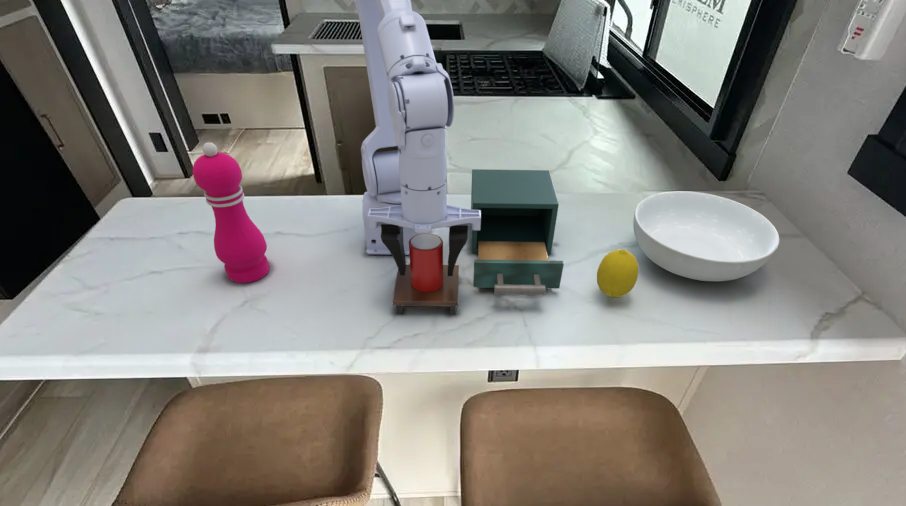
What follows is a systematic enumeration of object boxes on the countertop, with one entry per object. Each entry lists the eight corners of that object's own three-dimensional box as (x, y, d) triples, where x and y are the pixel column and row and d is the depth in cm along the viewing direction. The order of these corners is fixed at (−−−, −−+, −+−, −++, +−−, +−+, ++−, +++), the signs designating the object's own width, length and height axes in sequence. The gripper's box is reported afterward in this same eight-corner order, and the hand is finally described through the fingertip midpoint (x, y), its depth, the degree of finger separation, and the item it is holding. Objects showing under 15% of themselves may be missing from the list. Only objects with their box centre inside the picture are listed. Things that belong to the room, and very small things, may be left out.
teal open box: (471, 253, 83) (472, 203, 77) (470, 217, 92) (472, 169, 86) (550, 254, 83) (558, 204, 77) (542, 218, 92) (549, 170, 86)
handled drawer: (473, 304, 72) (474, 278, 69) (472, 244, 83) (473, 220, 81) (563, 305, 72) (568, 280, 69) (549, 245, 83) (553, 221, 80)
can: (409, 291, 71) (407, 250, 67) (412, 272, 75) (410, 232, 70) (442, 292, 71) (442, 250, 67) (443, 273, 75) (443, 232, 70)
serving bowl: (664, 308, 73) (679, 268, 69) (604, 233, 88) (612, 196, 84) (791, 290, 76) (813, 251, 72) (712, 221, 92) (726, 185, 87)
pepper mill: (282, 265, 80) (249, 137, 67) (250, 290, 75) (208, 158, 62) (246, 254, 83) (207, 128, 69) (213, 277, 78) (164, 147, 64)
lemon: (632, 289, 76) (645, 243, 71) (628, 311, 72) (643, 264, 67) (594, 282, 78) (605, 236, 72) (589, 303, 74) (600, 256, 68)
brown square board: (393, 315, 72) (392, 301, 70) (399, 277, 78) (398, 264, 77) (457, 316, 71) (458, 302, 70) (458, 278, 78) (458, 264, 76)
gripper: (359, 194, 60) (371, 288, 69) (483, 196, 60) (478, 289, 69) (367, 169, 65) (378, 258, 74) (481, 170, 65) (477, 260, 74)
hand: (426, 271), depth 72 cm, fingers open, 6 cm apart
